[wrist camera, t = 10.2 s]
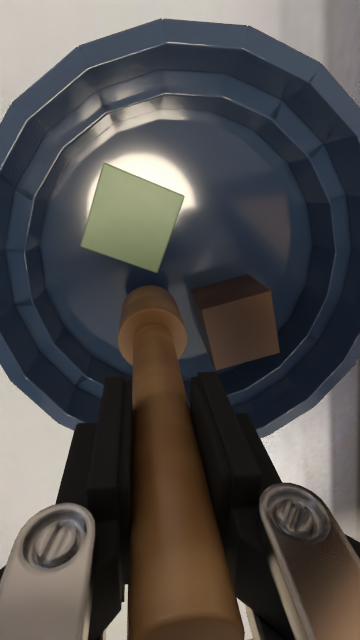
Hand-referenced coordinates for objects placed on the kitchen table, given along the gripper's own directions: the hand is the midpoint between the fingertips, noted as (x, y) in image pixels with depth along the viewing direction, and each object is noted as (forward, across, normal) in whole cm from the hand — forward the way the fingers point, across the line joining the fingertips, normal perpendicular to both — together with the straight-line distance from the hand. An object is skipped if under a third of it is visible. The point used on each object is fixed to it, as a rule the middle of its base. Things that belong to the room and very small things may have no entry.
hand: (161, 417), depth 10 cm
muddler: (+10, 0, 0) cm, 10 cm away
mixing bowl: (+13, -2, -2) cm, 13 cm away
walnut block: (+12, -5, +1) cm, 13 cm away
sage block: (+12, +1, -5) cm, 13 cm away
